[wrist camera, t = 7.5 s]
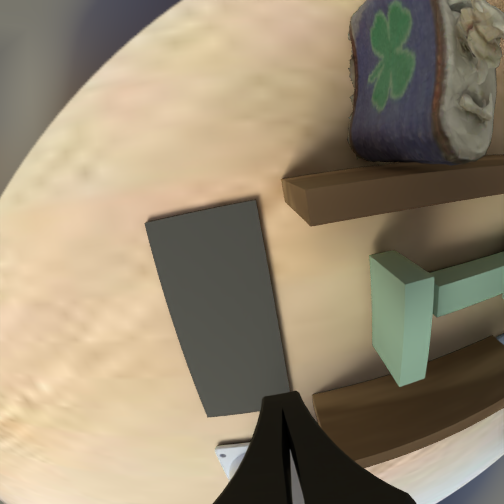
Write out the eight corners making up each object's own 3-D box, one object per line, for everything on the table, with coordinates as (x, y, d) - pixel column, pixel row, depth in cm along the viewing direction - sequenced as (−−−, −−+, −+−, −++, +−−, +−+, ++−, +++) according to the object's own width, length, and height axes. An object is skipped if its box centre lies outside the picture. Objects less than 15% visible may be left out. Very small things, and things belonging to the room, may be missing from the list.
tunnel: (490, 346, 20) (539, 393, 13) (313, 406, 20) (334, 486, 13) (502, 154, 16) (580, 163, 9) (281, 179, 16) (310, 192, 9)
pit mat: (291, 402, 20) (292, 405, 20) (208, 414, 20) (207, 417, 20) (255, 199, 16) (255, 200, 16) (146, 222, 16) (144, 223, 16)
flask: (346, 9, 13) (434, -97, 3) (391, 21, 13) (501, -58, 3) (343, 159, 16) (479, 165, 6) (391, 165, 16) (541, 186, 6)
